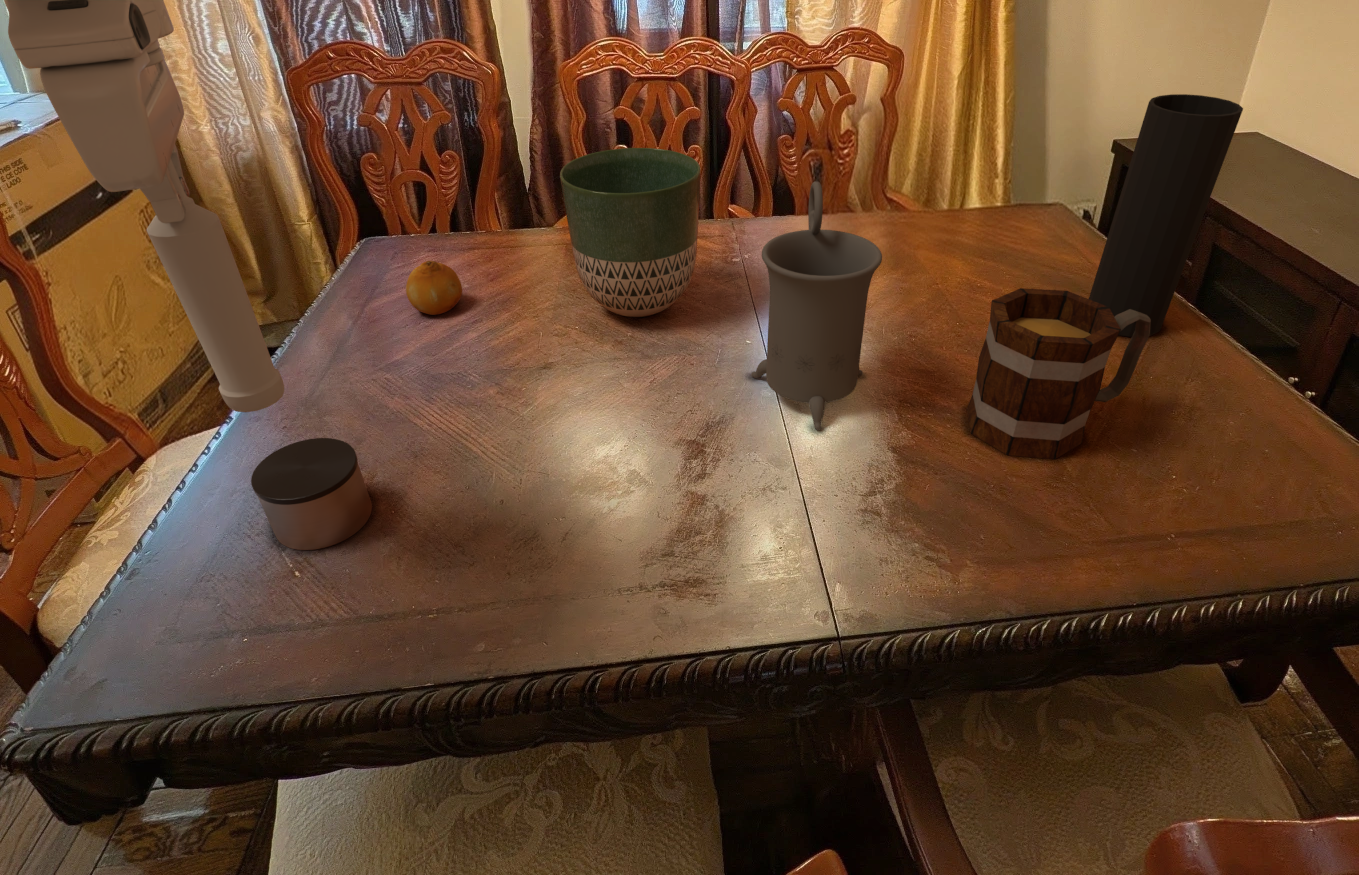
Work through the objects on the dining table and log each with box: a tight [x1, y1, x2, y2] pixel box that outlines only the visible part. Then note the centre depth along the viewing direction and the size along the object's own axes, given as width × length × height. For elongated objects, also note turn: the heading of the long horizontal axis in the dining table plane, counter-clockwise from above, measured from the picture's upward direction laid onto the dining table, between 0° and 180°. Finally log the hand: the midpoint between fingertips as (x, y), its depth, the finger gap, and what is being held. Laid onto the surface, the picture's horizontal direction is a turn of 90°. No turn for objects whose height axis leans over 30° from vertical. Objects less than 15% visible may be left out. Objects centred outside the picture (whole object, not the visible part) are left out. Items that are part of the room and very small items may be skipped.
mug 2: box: [750, 180, 883, 431], centre depth 97 cm, size 19×15×25 cm
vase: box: [1088, 93, 1244, 338], centre depth 108 cm, size 10×10×30 cm
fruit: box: [405, 260, 463, 316], centre depth 124 cm, size 8×8×8 cm
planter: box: [559, 147, 701, 318], centre depth 118 cm, size 20×20×21 cm
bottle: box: [146, 158, 285, 413], centre depth 65 cm, size 5×5×25 cm
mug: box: [966, 287, 1151, 460], centre depth 93 cm, size 20×14×15 cm
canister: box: [250, 437, 373, 551], centre depth 84 cm, size 10×10×7 cm
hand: (176, 210), depth 62 cm, fingers closed on bottle, 3 cm apart
